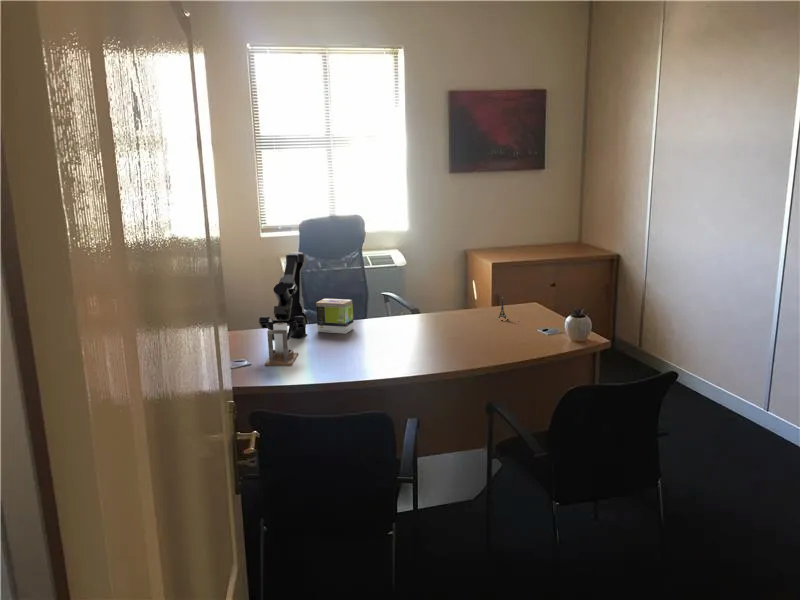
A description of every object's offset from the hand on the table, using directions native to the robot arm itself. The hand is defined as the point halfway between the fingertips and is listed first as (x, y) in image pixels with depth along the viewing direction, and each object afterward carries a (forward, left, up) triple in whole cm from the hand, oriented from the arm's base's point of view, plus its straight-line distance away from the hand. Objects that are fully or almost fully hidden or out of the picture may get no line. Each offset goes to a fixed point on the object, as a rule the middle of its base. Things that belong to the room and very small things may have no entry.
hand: (280, 340), depth 256 cm
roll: (-1, +1, -7) cm, 7 cm away
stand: (-1, +1, -9) cm, 9 cm away
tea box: (-6, +47, -9) cm, 48 cm away
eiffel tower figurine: (+58, +100, -9) cm, 116 cm away
